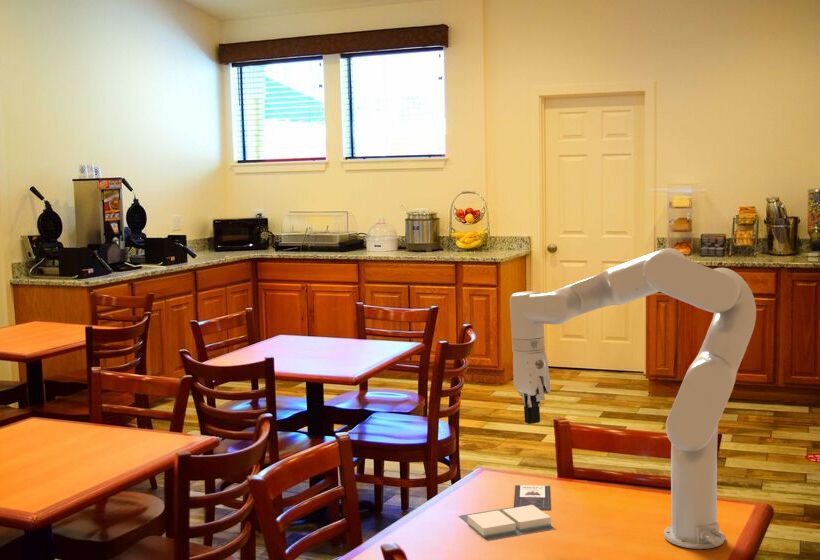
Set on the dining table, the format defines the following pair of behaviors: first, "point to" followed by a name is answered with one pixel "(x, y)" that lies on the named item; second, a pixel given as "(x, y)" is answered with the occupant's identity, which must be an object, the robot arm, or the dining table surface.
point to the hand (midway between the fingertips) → (532, 422)
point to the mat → (511, 534)
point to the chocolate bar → (532, 496)
